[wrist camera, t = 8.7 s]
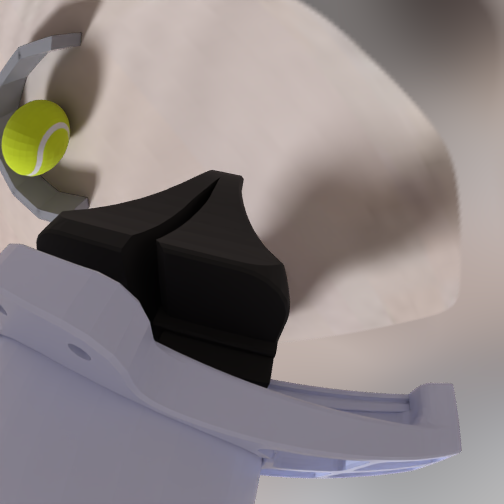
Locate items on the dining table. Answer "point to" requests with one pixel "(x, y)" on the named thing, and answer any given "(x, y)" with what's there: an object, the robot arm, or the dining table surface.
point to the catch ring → (4, 106)
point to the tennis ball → (35, 137)
